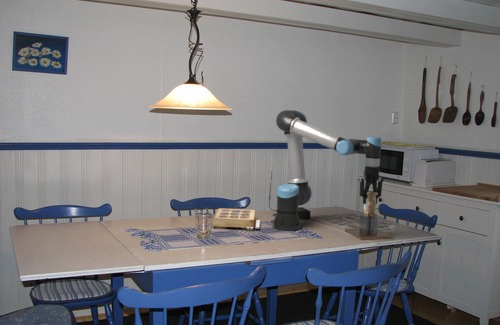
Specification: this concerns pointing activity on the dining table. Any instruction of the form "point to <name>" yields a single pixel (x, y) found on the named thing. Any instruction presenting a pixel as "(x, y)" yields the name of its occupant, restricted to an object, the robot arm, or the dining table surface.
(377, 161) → the robot arm
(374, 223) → the stand
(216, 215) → the beige slotted box
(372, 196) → the column
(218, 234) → the dining table surface
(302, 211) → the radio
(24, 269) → the dining table surface
